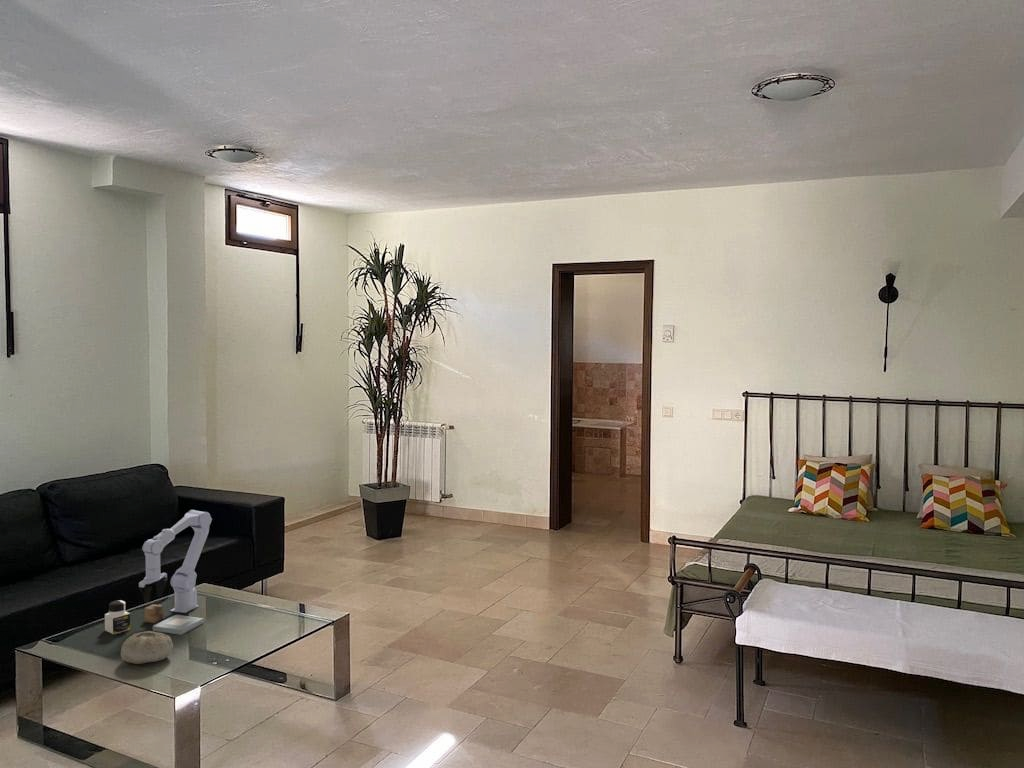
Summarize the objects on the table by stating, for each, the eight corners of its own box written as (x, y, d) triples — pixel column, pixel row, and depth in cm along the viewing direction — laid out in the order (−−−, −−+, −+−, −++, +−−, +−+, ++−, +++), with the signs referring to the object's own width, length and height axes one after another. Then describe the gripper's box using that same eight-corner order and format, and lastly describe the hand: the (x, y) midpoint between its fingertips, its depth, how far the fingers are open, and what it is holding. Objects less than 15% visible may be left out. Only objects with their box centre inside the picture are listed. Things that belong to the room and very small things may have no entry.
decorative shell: (168, 647, 310) (168, 622, 309) (177, 663, 295) (176, 637, 294) (118, 657, 300) (117, 631, 300) (124, 674, 285) (123, 647, 285)
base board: (175, 619, 340) (175, 614, 340) (203, 622, 337) (203, 618, 336) (152, 630, 327) (152, 625, 327) (181, 634, 323) (181, 629, 323)
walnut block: (153, 617, 342) (152, 604, 342) (162, 619, 340) (162, 605, 340) (144, 621, 337) (144, 608, 337) (154, 623, 336) (154, 609, 335)
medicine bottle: (113, 634, 322) (112, 606, 321) (104, 630, 326) (104, 602, 326) (130, 629, 328) (130, 601, 327) (121, 625, 332) (121, 597, 331)
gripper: (157, 562, 345) (157, 592, 346) (132, 571, 332) (133, 603, 332) (170, 563, 343) (171, 594, 344) (146, 573, 330) (147, 605, 330)
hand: (153, 598), depth 338 cm, fingers open, 7 cm apart
